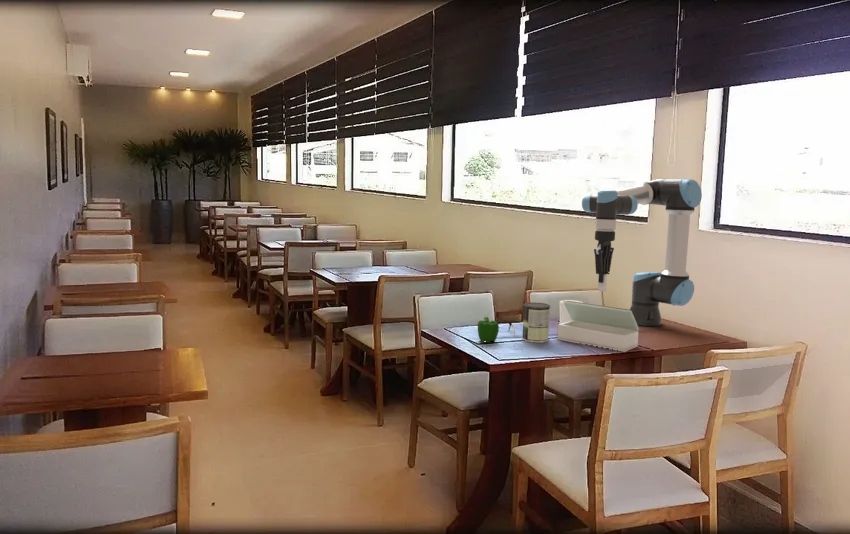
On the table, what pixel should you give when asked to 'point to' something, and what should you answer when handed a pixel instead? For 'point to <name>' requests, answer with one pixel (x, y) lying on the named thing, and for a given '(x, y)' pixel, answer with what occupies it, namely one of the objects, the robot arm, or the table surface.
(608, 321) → the pale green rectangular panel
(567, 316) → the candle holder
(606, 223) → the robot arm
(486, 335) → the bell pepper
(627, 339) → the duct channel
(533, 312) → the coffee can
